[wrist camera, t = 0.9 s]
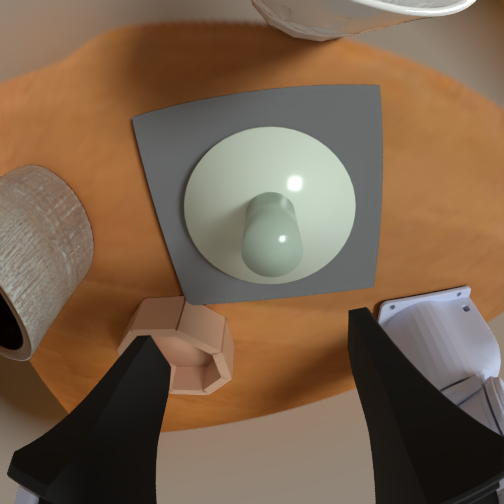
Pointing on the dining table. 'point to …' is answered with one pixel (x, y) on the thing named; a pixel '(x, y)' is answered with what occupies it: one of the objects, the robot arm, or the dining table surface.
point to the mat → (253, 115)
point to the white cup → (349, 15)
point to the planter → (38, 255)
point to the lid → (269, 205)
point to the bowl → (186, 342)
